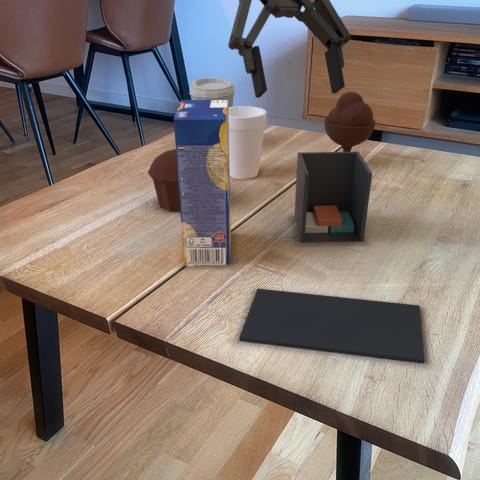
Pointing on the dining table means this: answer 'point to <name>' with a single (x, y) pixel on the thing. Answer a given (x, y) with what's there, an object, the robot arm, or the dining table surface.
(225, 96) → the disposable coffee cup
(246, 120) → the foam cup
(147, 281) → the dining table surface
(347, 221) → the block
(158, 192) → the muffin
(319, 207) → the block
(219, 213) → the beverage box
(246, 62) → the robot arm
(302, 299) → the mat
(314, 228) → the block
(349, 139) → the ice cream bowl
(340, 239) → the basket
